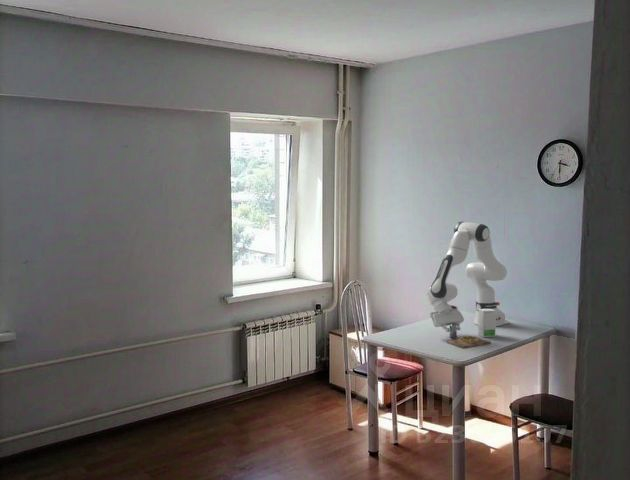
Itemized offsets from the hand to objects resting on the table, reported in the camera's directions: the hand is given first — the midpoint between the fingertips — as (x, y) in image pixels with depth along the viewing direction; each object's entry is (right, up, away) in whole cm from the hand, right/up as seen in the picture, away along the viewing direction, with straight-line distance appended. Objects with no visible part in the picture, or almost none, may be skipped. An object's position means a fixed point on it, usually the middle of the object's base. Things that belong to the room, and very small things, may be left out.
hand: (453, 330), depth 343 cm
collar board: (+6, -5, -11) cm, 14 cm away
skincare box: (+20, -4, +5) cm, 21 cm away
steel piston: (0, -4, +1) cm, 4 cm away
